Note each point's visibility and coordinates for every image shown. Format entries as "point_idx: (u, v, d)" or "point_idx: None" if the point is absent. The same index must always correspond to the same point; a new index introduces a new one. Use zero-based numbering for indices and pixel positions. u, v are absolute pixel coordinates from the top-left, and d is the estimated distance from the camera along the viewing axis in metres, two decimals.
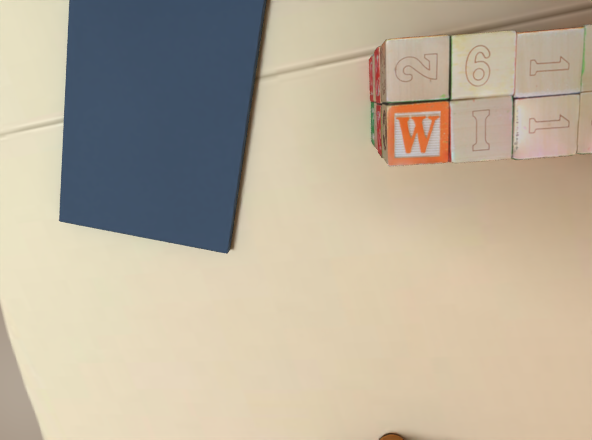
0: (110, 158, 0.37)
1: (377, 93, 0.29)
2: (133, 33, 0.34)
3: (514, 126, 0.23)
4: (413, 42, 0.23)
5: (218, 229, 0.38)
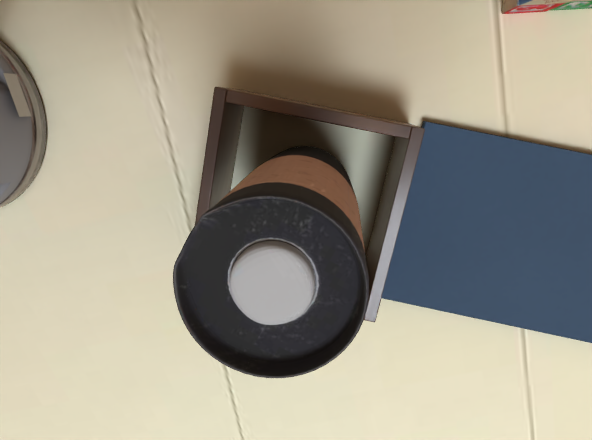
0: (573, 290, 0.36)
1: None
2: (455, 252, 0.36)
3: None
4: None
5: None
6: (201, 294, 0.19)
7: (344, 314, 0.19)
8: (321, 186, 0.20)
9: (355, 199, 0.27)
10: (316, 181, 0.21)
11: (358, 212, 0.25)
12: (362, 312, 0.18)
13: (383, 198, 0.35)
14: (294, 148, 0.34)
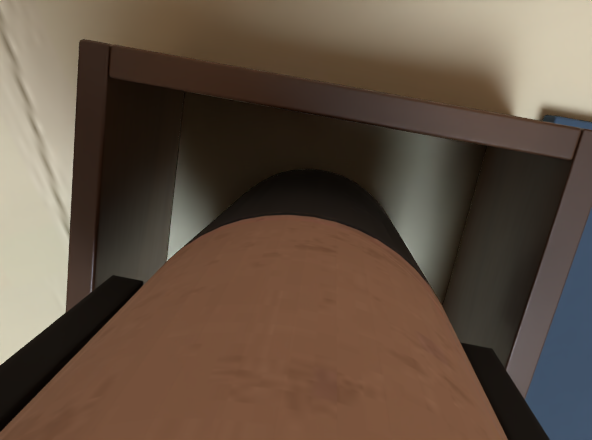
0: None
1: None
2: None
3: None
4: None
5: None
6: None
7: None
8: None
9: None
10: None
11: None
12: None
13: (467, 273, 0.17)
14: (285, 177, 0.16)
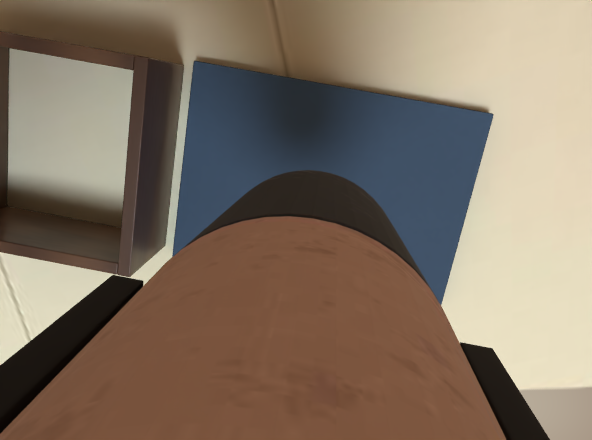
0: None
1: None
2: None
3: None
4: None
5: (461, 123, 0.31)
6: None
7: None
8: None
9: None
10: None
11: None
12: None
13: None
14: (284, 178, 0.16)
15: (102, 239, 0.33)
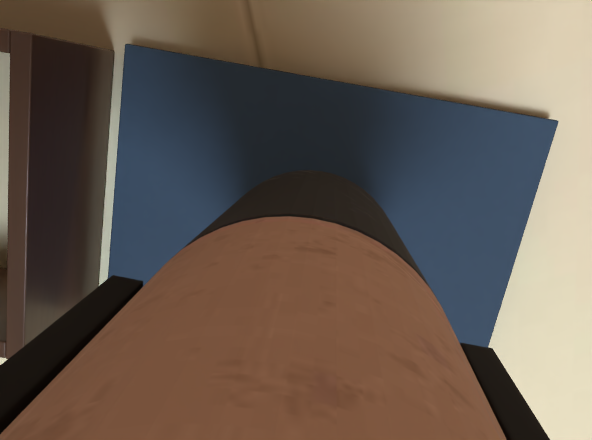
0: None
1: None
2: None
3: None
4: None
5: (511, 135, 0.21)
6: None
7: None
8: None
9: None
10: None
11: None
12: None
13: None
14: (285, 178, 0.16)
15: None
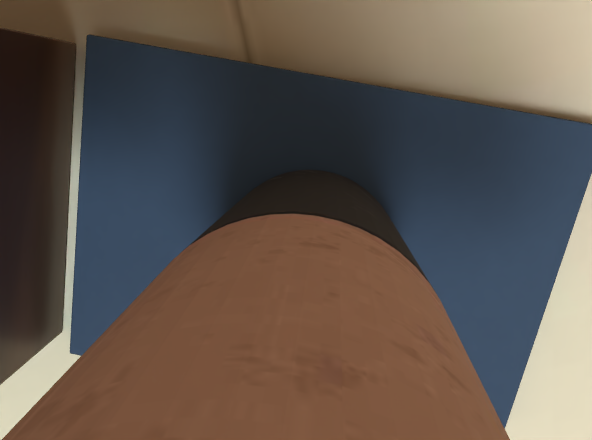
0: None
1: None
2: None
3: None
4: None
5: (549, 144, 0.18)
6: None
7: None
8: None
9: None
10: None
11: None
12: None
13: None
14: (287, 177, 0.16)
15: None
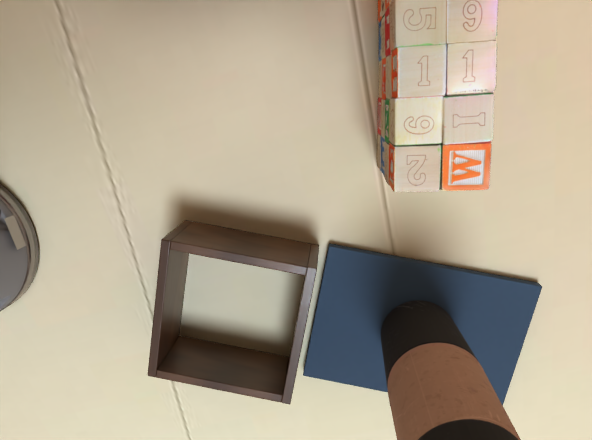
0: None
1: None
2: (358, 341, 0.47)
3: (468, 92, 0.29)
4: (397, 172, 0.31)
5: (519, 292, 0.44)
6: None
7: None
8: (493, 410, 0.29)
9: None
10: (486, 403, 0.30)
11: None
12: None
13: None
14: (417, 310, 0.43)
15: (259, 368, 0.46)
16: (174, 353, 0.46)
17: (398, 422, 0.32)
